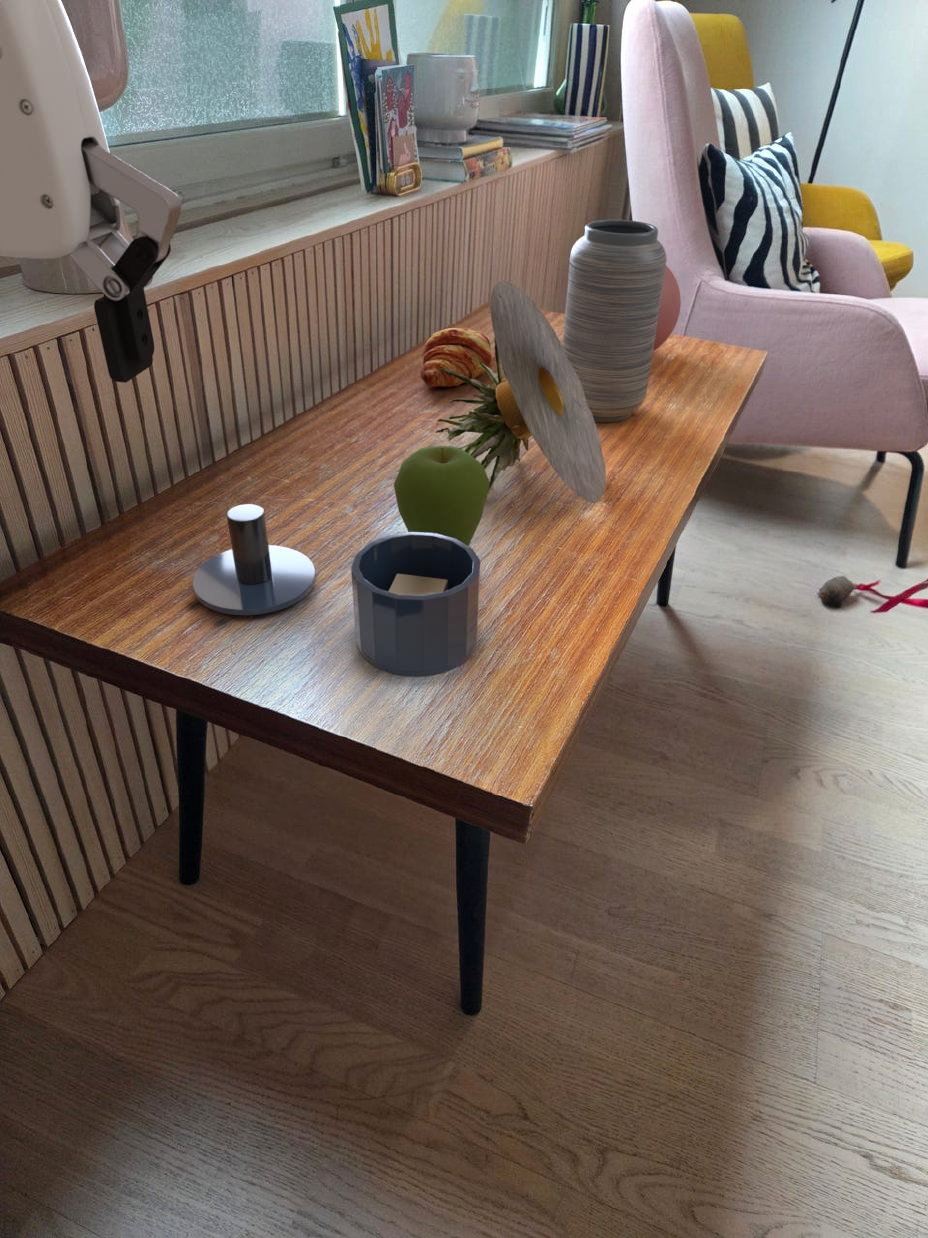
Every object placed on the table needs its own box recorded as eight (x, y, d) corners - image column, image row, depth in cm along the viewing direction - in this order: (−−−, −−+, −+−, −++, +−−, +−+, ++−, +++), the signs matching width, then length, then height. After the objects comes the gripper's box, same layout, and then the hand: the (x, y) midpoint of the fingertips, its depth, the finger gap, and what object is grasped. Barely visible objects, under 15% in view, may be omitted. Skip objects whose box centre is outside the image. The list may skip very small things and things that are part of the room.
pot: (373, 686, 68) (369, 609, 63) (345, 615, 75) (340, 541, 71) (494, 663, 70) (498, 586, 66) (455, 596, 78) (456, 524, 74)
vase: (545, 397, 119) (559, 218, 105) (622, 391, 121) (645, 215, 108) (575, 430, 110) (595, 238, 96) (658, 423, 112) (688, 235, 99)
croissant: (466, 369, 137) (445, 321, 134) (521, 348, 132) (500, 297, 129) (411, 413, 121) (386, 359, 118) (471, 390, 115) (446, 333, 112)
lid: (199, 630, 73) (184, 553, 69) (189, 565, 81) (175, 492, 77) (327, 608, 76) (320, 533, 72) (304, 548, 85) (297, 477, 80)
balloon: (566, 379, 125) (577, 268, 116) (575, 337, 141) (585, 237, 132) (673, 388, 123) (692, 276, 114) (670, 345, 139) (686, 243, 130)
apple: (380, 563, 82) (375, 453, 76) (427, 527, 88) (426, 421, 82) (457, 590, 79) (459, 477, 72) (501, 550, 85) (506, 442, 78)
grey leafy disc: (535, 478, 114) (410, 332, 104) (647, 410, 104) (520, 241, 94) (496, 598, 96) (341, 436, 86) (627, 531, 86) (468, 338, 76)
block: (384, 645, 71) (382, 601, 69) (398, 615, 75) (397, 573, 72) (436, 652, 70) (436, 608, 68) (447, 622, 74) (447, 579, 71)
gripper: (-336, -67, 32) (-156, 375, 42) (80, -60, 30) (168, 407, 40) (-179, -54, 38) (-54, 330, 48) (179, -48, 36) (233, 356, 46)
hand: (46, 364), depth 44 cm, fingers open, 9 cm apart
